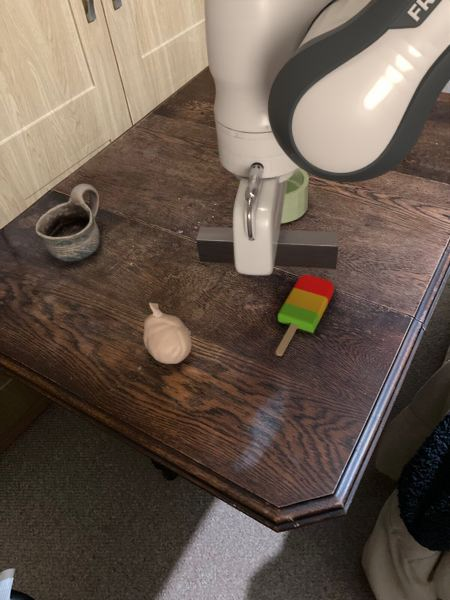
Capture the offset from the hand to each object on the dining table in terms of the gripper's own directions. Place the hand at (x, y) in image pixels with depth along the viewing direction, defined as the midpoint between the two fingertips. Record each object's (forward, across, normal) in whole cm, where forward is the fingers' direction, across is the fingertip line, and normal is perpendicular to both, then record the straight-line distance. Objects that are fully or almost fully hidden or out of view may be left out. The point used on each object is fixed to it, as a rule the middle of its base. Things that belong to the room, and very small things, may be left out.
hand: (267, 247), depth 57 cm
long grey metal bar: (+2, 0, 0) cm, 2 cm away
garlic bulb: (+16, -5, +13) cm, 22 cm away
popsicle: (+16, +3, -4) cm, 17 cm away
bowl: (+16, +29, +2) cm, 33 cm away
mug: (+16, +16, +35) cm, 42 cm away
